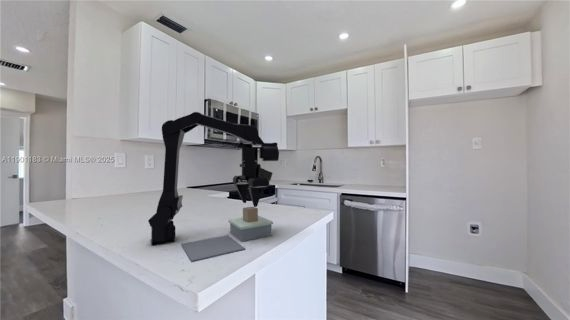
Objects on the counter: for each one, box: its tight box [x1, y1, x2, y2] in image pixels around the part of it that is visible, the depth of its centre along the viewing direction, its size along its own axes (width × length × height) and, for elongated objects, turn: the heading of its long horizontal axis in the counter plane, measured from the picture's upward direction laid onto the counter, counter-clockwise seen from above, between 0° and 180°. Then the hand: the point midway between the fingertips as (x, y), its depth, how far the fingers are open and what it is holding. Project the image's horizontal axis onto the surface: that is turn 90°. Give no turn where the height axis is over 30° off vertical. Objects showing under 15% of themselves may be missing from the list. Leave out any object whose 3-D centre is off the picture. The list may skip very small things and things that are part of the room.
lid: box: [227, 206, 274, 230], centre depth 82 cm, size 12×12×5 cm
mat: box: [180, 234, 246, 263], centre depth 70 cm, size 15×15×1 cm
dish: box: [229, 223, 272, 242], centre depth 82 cm, size 11×11×4 cm
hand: (249, 204), depth 82 cm, fingers open, 9 cm apart
